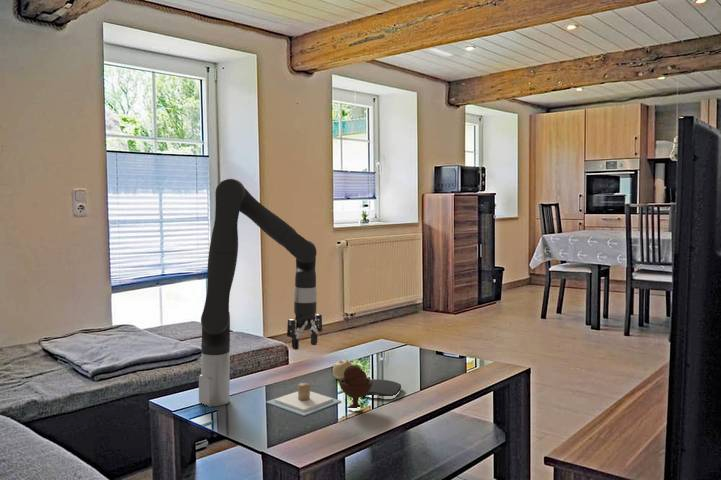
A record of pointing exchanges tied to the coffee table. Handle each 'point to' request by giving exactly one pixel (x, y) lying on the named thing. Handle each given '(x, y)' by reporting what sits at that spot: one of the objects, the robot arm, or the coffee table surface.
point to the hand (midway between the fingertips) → (304, 347)
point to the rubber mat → (302, 411)
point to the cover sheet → (303, 404)
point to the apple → (340, 368)
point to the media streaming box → (384, 388)
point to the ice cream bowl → (355, 384)
